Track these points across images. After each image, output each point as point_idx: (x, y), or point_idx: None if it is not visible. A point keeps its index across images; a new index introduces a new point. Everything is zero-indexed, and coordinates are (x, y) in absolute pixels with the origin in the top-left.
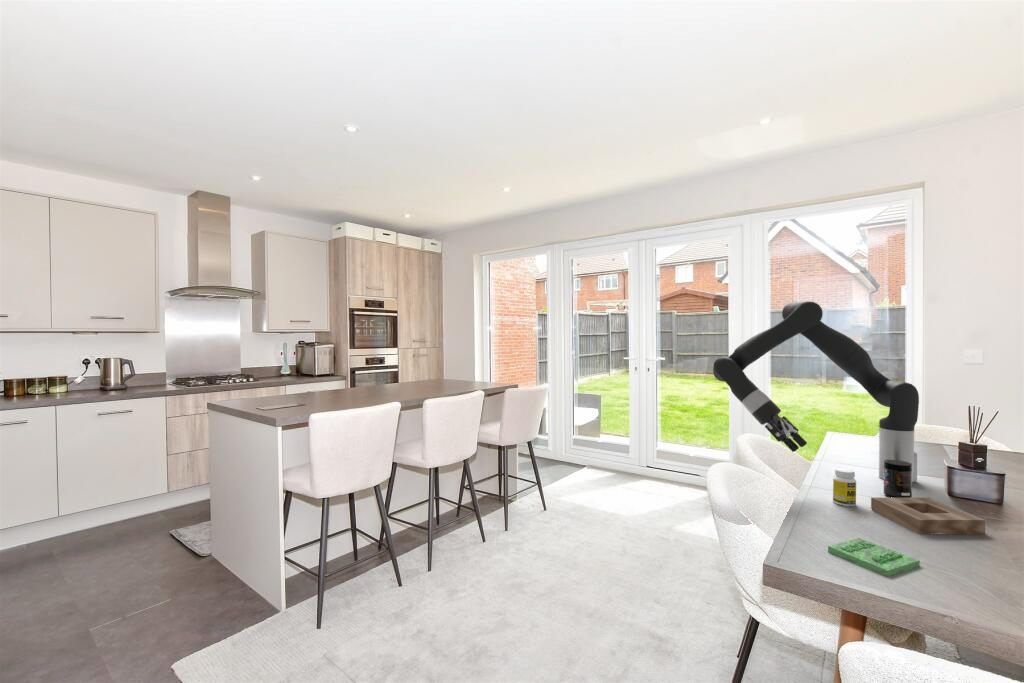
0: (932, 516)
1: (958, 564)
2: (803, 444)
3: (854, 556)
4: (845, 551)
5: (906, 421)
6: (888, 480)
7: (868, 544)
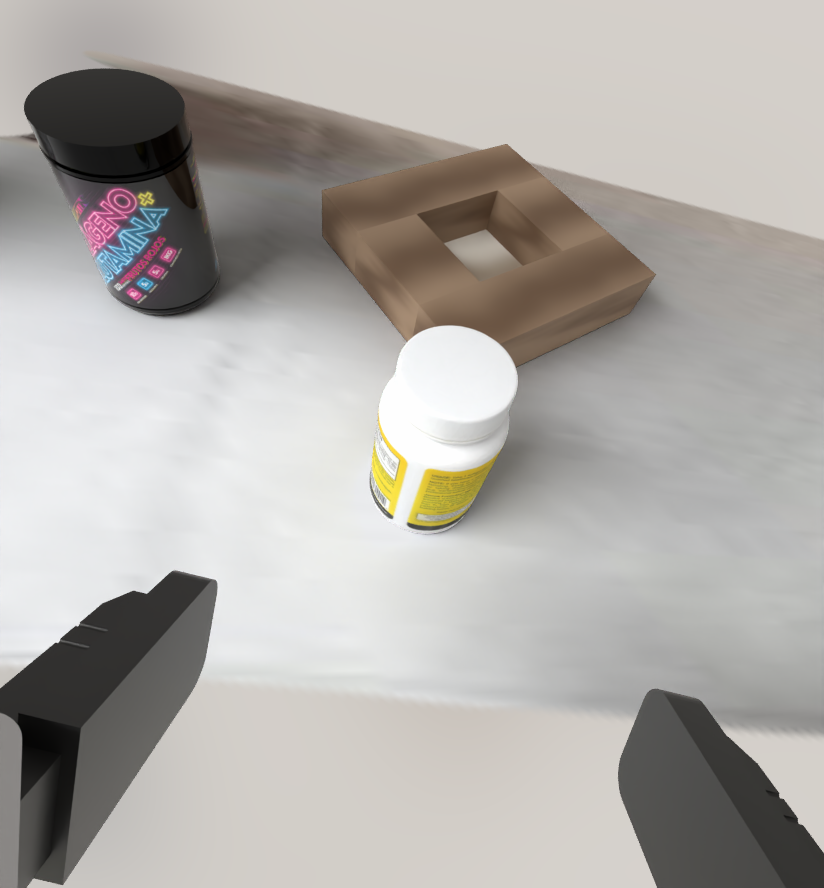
0: (582, 236)
1: (797, 290)
2: (205, 632)
3: None
4: None
5: None
6: (176, 240)
7: None
